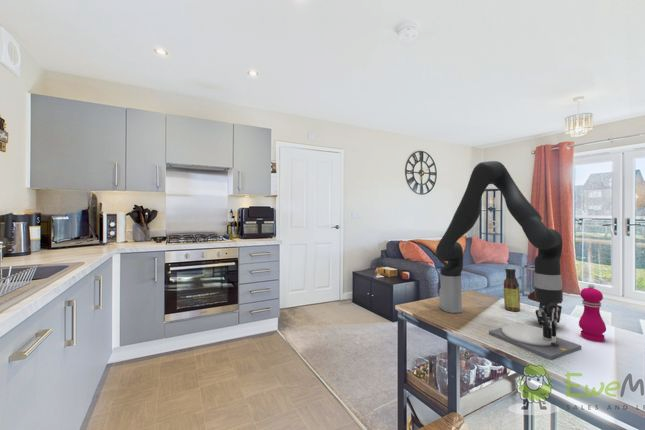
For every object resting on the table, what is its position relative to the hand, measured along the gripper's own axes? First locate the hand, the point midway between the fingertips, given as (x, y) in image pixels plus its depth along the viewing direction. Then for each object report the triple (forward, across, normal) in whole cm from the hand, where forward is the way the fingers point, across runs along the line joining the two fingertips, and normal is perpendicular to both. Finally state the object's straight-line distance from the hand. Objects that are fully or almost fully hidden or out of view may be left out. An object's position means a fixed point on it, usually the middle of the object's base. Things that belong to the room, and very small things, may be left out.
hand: (549, 336), depth 95 cm
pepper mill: (+4, +22, -4) cm, 23 cm away
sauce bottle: (+3, +30, +27) cm, 40 cm away
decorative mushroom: (+4, +20, +10) cm, 23 cm away
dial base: (+4, +1, +6) cm, 7 cm away
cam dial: (+3, +1, +6) cm, 7 cm away
